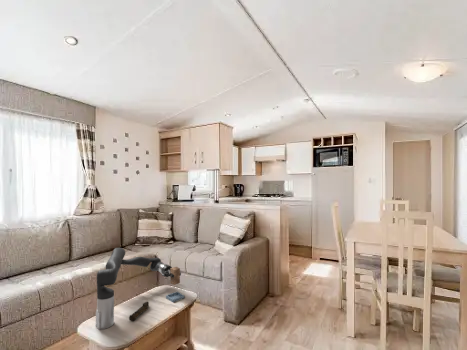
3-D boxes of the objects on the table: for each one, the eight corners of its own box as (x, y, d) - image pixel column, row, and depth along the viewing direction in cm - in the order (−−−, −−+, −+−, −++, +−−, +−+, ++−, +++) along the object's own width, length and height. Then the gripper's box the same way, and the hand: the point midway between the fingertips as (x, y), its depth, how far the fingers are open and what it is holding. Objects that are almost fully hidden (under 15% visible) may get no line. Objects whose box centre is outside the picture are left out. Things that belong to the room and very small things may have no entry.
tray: (172, 302, 184) (172, 299, 184) (166, 298, 190) (166, 295, 191) (184, 298, 190) (184, 295, 190) (177, 294, 197) (177, 291, 197)
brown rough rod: (134, 322, 159) (134, 314, 159) (128, 321, 160) (128, 313, 160) (152, 307, 177) (152, 300, 177) (147, 306, 178) (147, 300, 178)
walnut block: (173, 285, 187) (174, 270, 187) (170, 283, 191) (170, 268, 191) (179, 283, 191) (179, 268, 191) (176, 281, 194) (176, 266, 194)
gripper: (157, 266, 196) (168, 272, 184) (173, 262, 206) (185, 267, 194) (156, 276, 196) (168, 283, 184) (173, 271, 206) (185, 277, 194)
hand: (177, 275), depth 189 cm, fingers closed on walnut block, 5 cm apart
